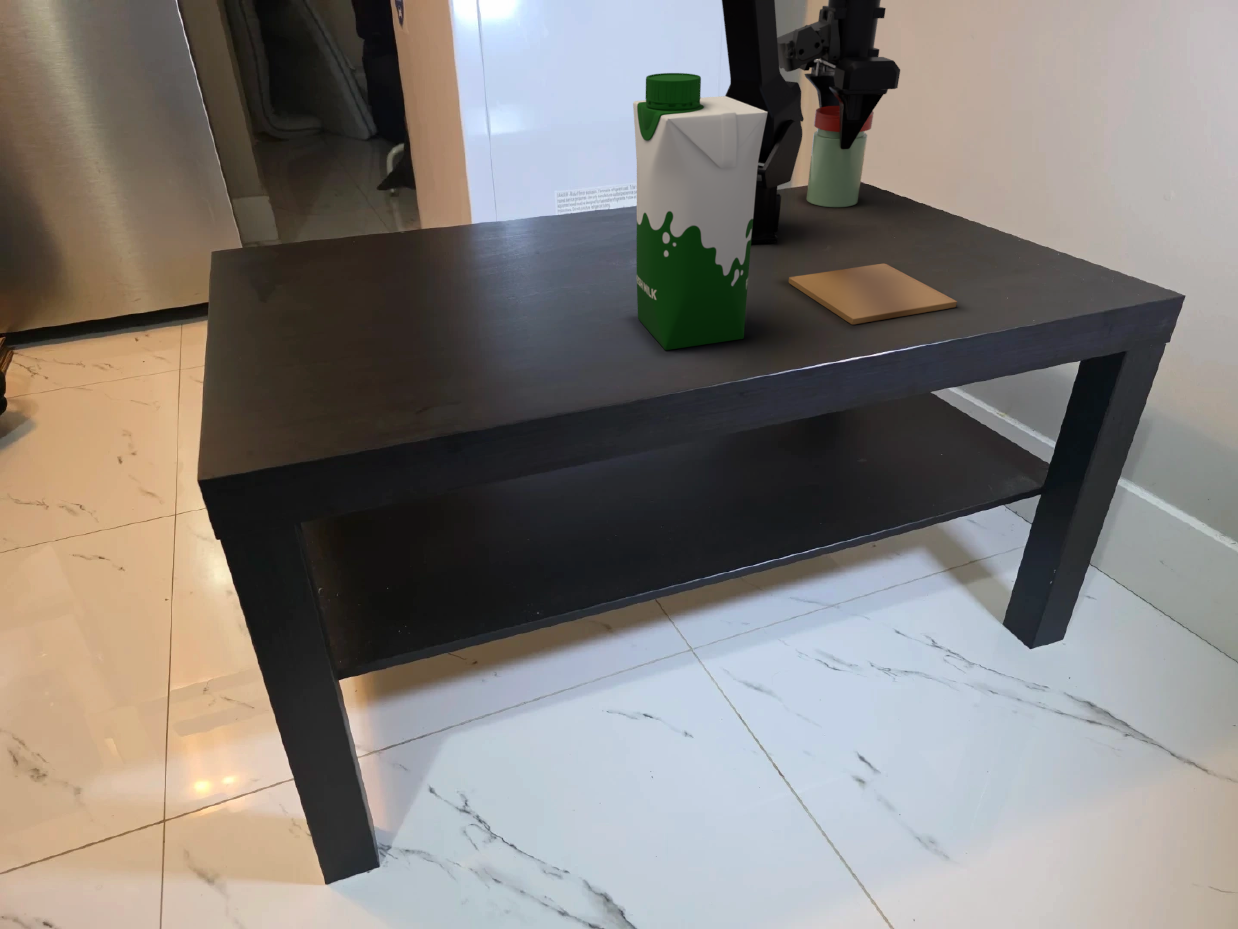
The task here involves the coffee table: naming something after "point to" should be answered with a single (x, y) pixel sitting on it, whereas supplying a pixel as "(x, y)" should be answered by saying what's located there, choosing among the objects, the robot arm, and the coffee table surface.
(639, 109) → the milk carton
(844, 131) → the robot arm
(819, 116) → the lid
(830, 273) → the coaster
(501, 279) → the coffee table surface
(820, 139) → the jar
